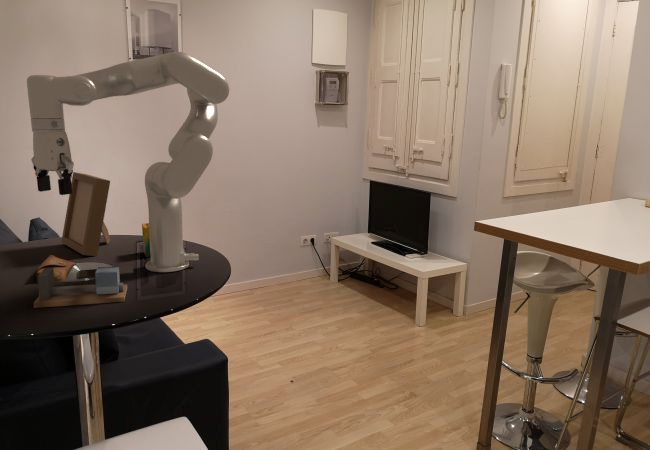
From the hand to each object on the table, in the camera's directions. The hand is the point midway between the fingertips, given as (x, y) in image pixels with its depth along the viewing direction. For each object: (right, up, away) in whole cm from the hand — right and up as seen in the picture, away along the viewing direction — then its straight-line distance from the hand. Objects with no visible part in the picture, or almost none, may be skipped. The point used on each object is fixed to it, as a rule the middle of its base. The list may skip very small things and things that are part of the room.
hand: (55, 192), depth 137 cm
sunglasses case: (-7, -23, +14) cm, 28 cm away
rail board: (+10, -27, -5) cm, 29 cm away
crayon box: (+12, -18, +36) cm, 42 cm away
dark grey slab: (+2, -26, -8) cm, 27 cm away
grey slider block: (+16, -25, -4) cm, 30 cm away
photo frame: (-8, -16, +43) cm, 46 cm away
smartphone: (+7, -23, +15) cm, 28 cm away
